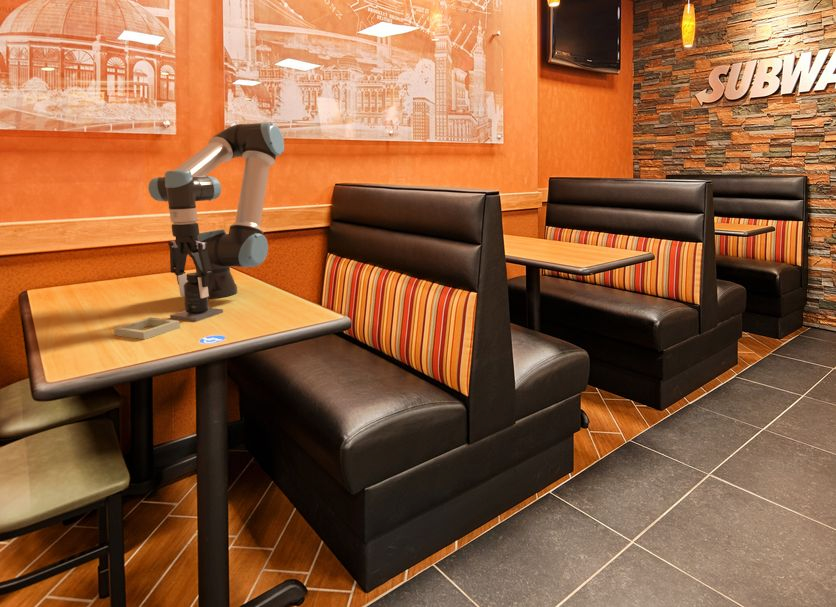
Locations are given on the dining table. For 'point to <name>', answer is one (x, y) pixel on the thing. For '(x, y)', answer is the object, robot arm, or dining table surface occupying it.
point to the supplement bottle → (194, 295)
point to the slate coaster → (196, 315)
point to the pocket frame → (133, 331)
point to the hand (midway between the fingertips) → (194, 296)
